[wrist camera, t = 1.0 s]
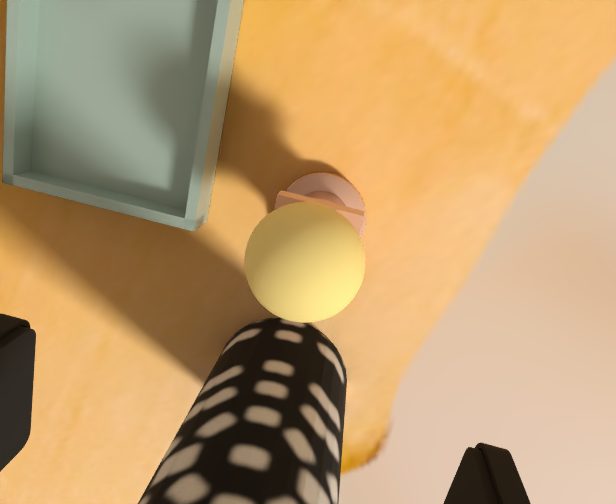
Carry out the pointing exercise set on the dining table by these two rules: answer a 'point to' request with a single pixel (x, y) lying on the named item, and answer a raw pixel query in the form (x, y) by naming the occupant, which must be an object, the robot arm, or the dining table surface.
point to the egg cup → (327, 196)
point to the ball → (304, 262)
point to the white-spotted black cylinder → (261, 424)
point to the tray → (119, 102)
